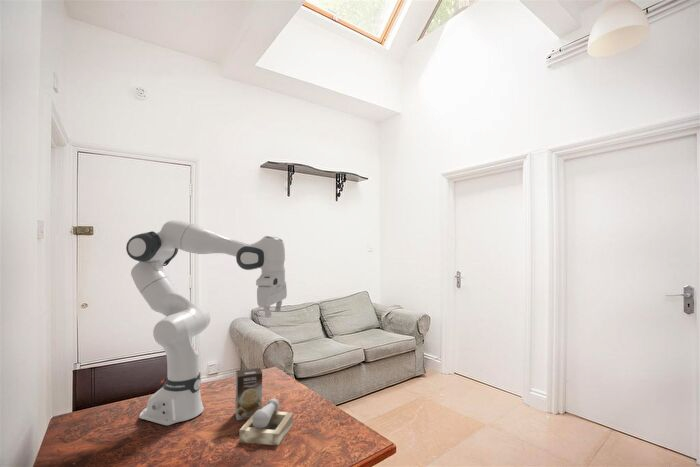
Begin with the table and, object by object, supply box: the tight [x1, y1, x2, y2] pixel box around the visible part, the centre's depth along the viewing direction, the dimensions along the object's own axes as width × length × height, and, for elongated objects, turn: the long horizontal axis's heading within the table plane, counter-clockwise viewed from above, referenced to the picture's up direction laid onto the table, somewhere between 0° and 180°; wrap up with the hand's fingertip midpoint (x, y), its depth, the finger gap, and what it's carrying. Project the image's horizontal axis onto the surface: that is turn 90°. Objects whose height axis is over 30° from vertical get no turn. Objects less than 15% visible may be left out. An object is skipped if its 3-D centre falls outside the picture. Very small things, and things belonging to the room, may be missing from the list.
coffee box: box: [235, 367, 263, 421], centre depth 130 cm, size 9×6×16 cm
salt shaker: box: [252, 397, 280, 429], centre depth 119 cm, size 6×6×13 cm
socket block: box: [238, 409, 294, 446], centre depth 118 cm, size 14×14×4 cm
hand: (273, 314), depth 132 cm, fingers open, 8 cm apart
